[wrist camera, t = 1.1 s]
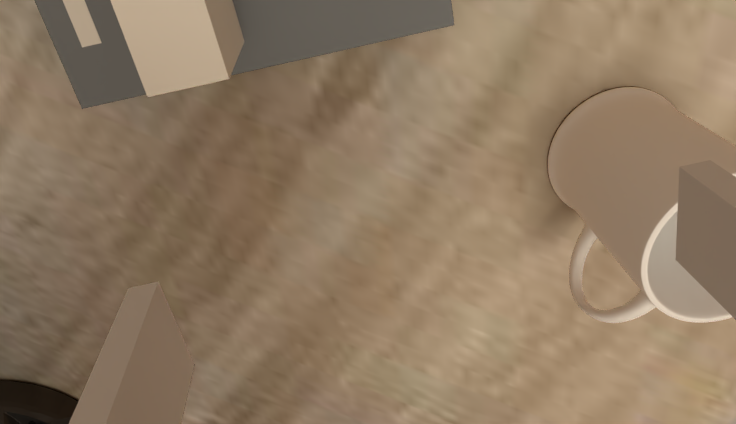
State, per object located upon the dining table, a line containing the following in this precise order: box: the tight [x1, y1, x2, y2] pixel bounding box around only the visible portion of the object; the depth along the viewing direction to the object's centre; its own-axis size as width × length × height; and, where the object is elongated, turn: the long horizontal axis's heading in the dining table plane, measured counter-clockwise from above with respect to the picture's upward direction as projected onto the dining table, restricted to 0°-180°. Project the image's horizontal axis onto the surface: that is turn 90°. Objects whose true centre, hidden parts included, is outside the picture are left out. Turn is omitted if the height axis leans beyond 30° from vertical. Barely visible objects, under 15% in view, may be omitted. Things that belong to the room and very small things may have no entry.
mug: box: [548, 87, 736, 323], centre depth 34 cm, size 12×8×12 cm
